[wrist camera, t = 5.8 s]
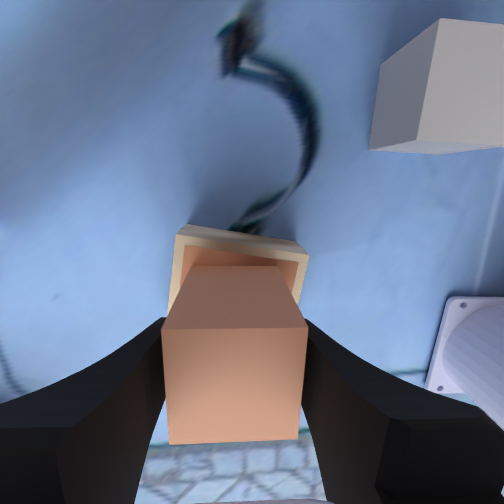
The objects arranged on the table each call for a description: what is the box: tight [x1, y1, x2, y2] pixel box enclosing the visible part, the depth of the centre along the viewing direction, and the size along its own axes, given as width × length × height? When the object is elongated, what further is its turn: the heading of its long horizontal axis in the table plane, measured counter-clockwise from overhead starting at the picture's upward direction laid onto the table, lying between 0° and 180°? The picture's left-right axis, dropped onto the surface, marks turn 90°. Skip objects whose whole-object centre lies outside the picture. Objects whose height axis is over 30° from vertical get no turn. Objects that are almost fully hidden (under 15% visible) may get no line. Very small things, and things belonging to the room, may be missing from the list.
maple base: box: [167, 224, 310, 316], centre depth 16 cm, size 7×7×4 cm
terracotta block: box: [161, 265, 308, 445], centre depth 12 cm, size 4×4×6 cm
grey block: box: [368, 18, 504, 155], centre depth 13 cm, size 4×4×4 cm
